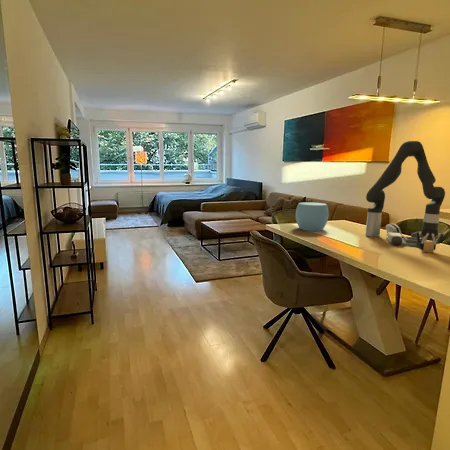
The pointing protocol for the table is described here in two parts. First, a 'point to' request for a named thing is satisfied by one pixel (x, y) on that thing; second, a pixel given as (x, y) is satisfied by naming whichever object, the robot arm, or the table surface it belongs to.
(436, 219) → the robot arm
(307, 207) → the planter
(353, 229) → the table surface
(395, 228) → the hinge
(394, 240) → the chassis
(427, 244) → the block
